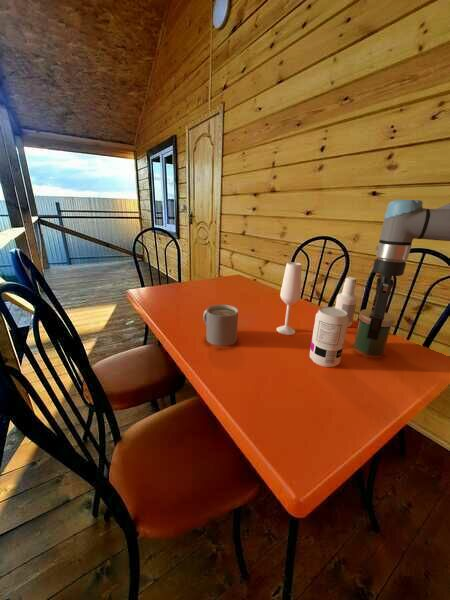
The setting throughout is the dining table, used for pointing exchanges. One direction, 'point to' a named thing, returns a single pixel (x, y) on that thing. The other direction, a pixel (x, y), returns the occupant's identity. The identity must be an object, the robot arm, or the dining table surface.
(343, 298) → the spray bottle
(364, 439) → the dining table surface
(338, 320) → the supplement can
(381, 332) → the jam jar
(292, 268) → the champagne flute
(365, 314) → the jar lid
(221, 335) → the coffee mug
